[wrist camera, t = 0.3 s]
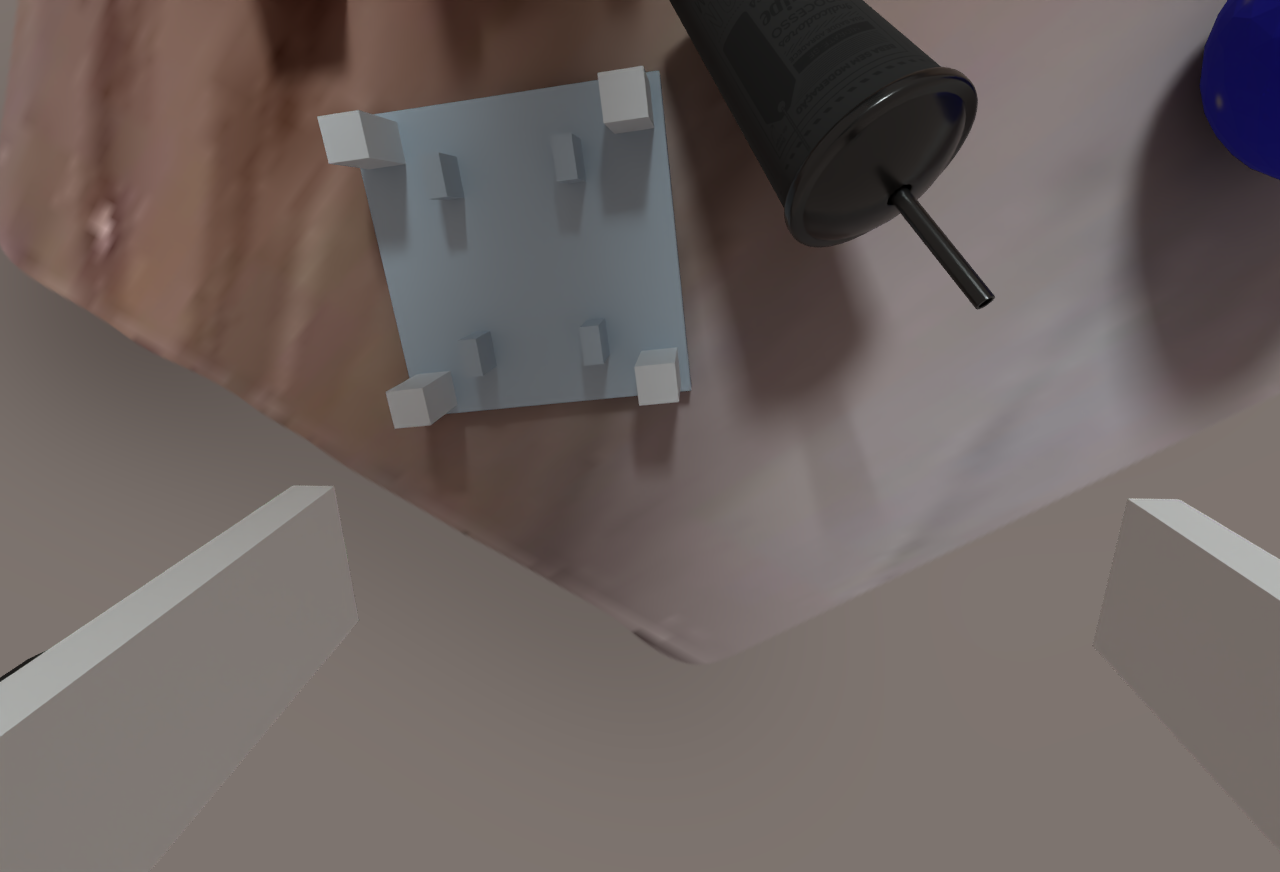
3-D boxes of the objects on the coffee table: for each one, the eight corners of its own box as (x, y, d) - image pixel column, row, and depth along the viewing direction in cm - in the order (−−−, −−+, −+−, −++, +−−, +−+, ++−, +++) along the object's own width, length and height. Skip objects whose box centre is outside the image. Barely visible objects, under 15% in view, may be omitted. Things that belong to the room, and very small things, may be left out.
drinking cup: (654, 73, 33) (872, 395, 26) (614, -81, 26) (899, 305, 19) (790, -7, 33) (1049, 300, 25) (787, -186, 25) (1146, 172, 18)
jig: (358, 121, 34) (304, 106, 30) (660, 74, 33) (653, 50, 28) (425, 411, 39) (387, 438, 35) (691, 385, 37) (689, 410, 33)
